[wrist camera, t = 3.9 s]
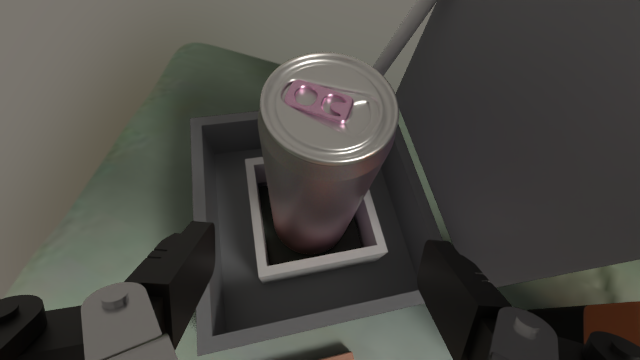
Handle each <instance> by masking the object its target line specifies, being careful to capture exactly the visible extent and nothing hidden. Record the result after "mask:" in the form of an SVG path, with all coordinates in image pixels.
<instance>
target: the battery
mask: <svg viewBox="0 0 640 360" xmlns="http://www.w3.org/2000/svg"><path fill="white" fill-rule="evenodd" d="M527 311H528V312H531V313H533V314H534V315H536V316H538V317H540V318H541V319H543V320H544V321H545V322H546V323H548V324H549V325H550V326H551V327H552V329H553V330H554V331H555V333H556V335H557V336H558V337H561V338H565V339H568V340H572V341H575V342H579V343H582V344H585V343H586V341H587V339H588V337H589V335H590V334H591V333H592V332H594V331H603V332H608V333H612V334H614V335H617V336H620V337H622V338H624V339H626V340H628V341H630V342H632V343H634V344H636V345H637V346H639V347H640V302H624V303H611V304H598V305H585V306H572V307H559V308H546V309H533V310H527Z"/></svg>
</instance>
